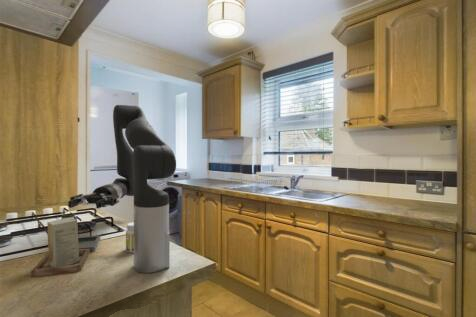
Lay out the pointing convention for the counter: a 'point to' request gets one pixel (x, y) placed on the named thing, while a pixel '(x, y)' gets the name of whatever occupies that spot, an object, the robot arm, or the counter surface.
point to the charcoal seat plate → (88, 242)
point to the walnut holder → (42, 271)
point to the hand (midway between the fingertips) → (83, 204)
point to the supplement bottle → (130, 237)
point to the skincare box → (63, 242)
